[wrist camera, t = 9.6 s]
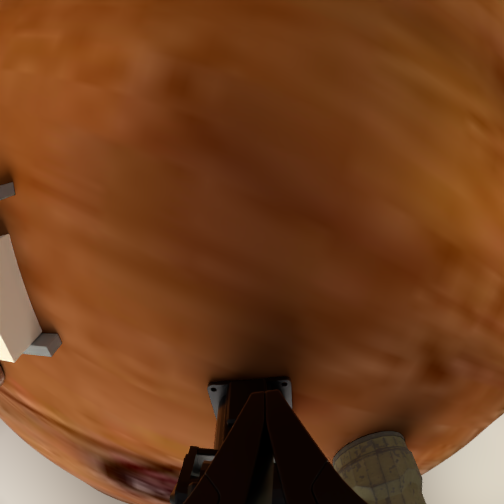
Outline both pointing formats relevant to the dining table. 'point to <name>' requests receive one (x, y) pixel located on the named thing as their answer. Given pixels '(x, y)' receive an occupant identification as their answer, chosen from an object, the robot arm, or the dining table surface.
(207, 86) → the dining table surface
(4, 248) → the carton
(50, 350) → the frame
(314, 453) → the robot arm
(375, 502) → the thermos
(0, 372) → the sauce bottle
